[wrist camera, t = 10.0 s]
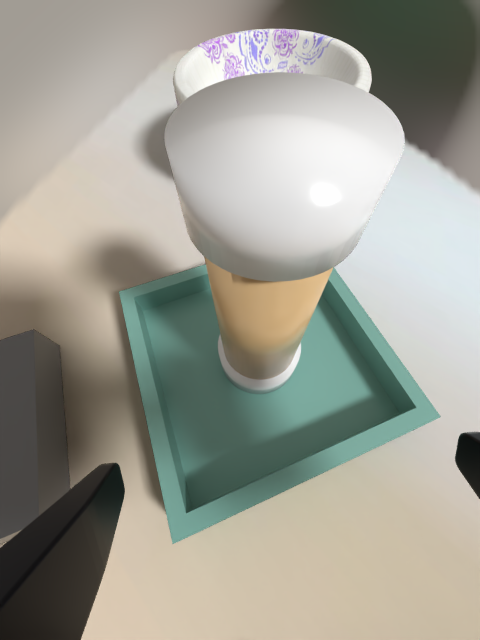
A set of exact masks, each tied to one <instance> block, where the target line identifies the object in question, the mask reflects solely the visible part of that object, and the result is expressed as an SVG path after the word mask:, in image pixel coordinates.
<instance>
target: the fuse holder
mask: <svg viewBox="0 0 480 640" xmlns="http://www.w3.org/2000/svg"><path fill="white" fill-rule="evenodd" d="M69 490H70V479H69V466H68V452H67V439H66V426H65V413H64V400H63V386H62V373H61V360H60V347H59V345H58V344H56V343H54V342H53V341H51V340H50V339H48V338H47V337H45V336H44V335H42V334H40V333H39V332H37V331H36V330H34V329H33V330H30V331H27V332H24V333H21V334H18V335H15V336H11V337H8V338H5V339H2V340H0V544H2V543H5V542H7V541H9V540H10V539H12V538H13V537H14V536H15V535H16V534H18V533H19V532H20V531H21V530H22V529H24V528H25V527H26V526H27V525H28V524H30V523H31V522H32V521H33V520H34V519H36V518H37V517H38V516H39V515H40V514H42V513H43V512H44V511H45V510H46V509H48V508H49V507H50V506H51V505H52V504H54V503H55V502H56V501H57V500H58V499H60V498H61V497H62V496H63V495H64V494H66V493H67V492H68V491H69Z"/></svg>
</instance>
